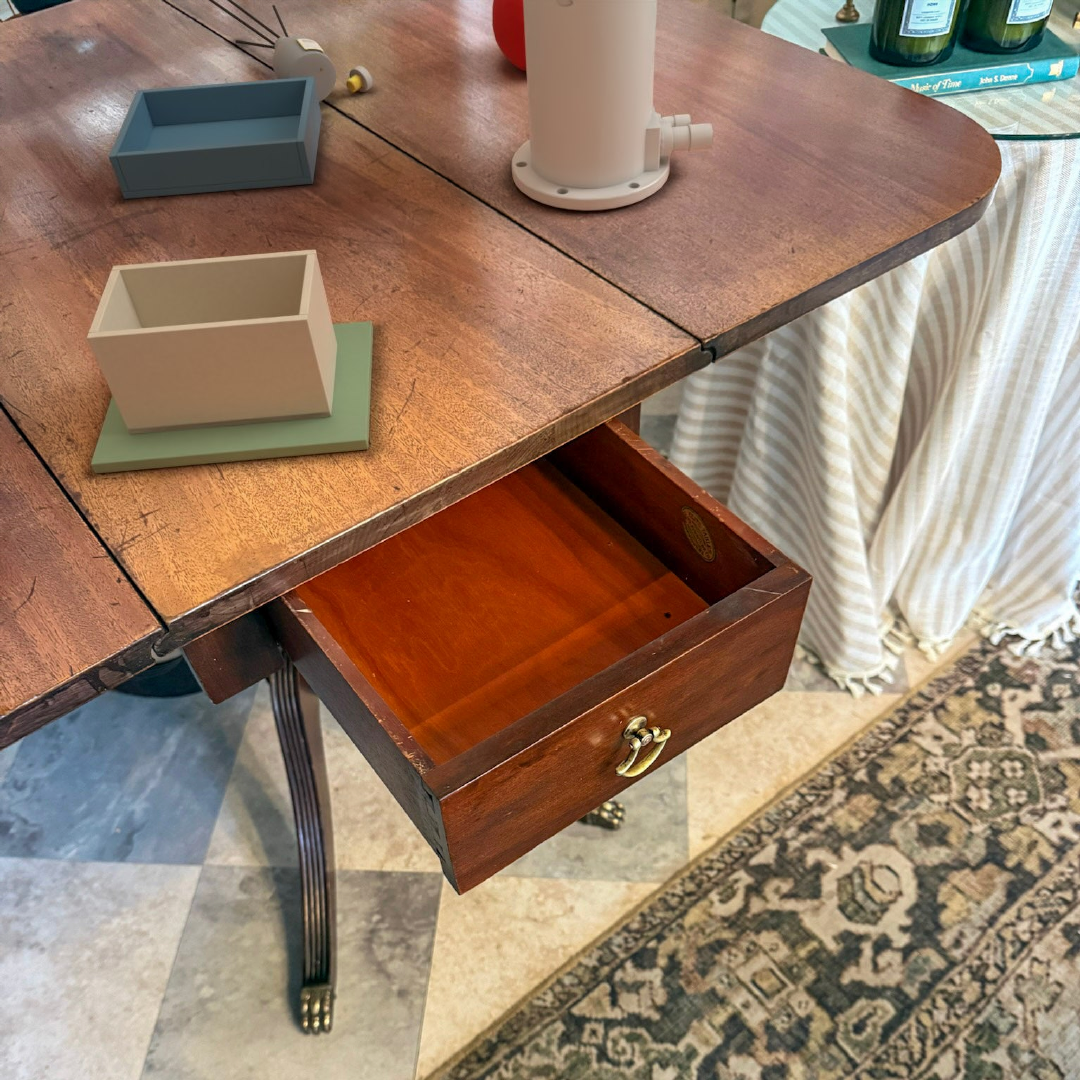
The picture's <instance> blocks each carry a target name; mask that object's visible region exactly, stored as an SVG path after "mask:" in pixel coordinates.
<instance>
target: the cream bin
mask: <svg viewBox="0 0 1080 1080" xmlns="http://www.w3.org/2000/svg"><path fill="white" fill-rule="evenodd" d="M331 315H332V314H331V310H330V307H329V303H328V297H327V293H326V289H325V285H324V281H323V277H322V272H321V267H320V264H319V258H318V254H317V250H316V249H304V250H293V251H292V250H291V251H279V252H269V253H268V252H267V253H255V254H244V255H243V254H242V255H233V256H219V257H207V258H196V259H195V258H194V259H183V260H182V259H181V260H171V261H170V260H169V261H159V262H146V263H145V262H144V263H133V264H122V265H121V264H120V265H112V267H111V271H110V272H109V275H108V279H107V280H106V284H105V287H104V289H103V292H102V295H101V297H100V300H99V303H98V306H97V308H96V311H95V313H94V316H93V319H92V321H91V324H90V327H89V329H88V333H87V335H86V340H87V342H88V344H89V346H90V349H91V351H92V354H93V356H94V359H95V361H96V363H97V364H98V367H99V369H100V371H101V373H102V375H103V377H104V380H105V382H106V385H107V386H108V389H109V392H110V393H111V396H112V395H113V398H114V400H115V402H116V404H117V407H118V409H119V411H120V413H121V415H122V418H123V420H124V422H125V424H126V427H127V429H128V431H129V433H130V434H140V433H152V432H163V431H175V430H186V429H198V428H209V427H221V426H232V425H243V424H255V423H266V422H278V421H289V420H301V419H312V418H324V417H331V416H332V404H333V392H334V380H335V368H336V356H337V341H336V337H335V333H334V328H333V324H334V323H333V320H332V316H331Z"/></svg>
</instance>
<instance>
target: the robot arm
mask: <svg viewBox="0 0 1080 1080" xmlns="http://www.w3.org/2000/svg"><path fill="white" fill-rule="evenodd" d="M523 6H524V27H525V48H526V69H527V71H526V86H527V89H526V90H527V108H528V128H529V139H528V140H526V141H525V142H523V143H522V144H521V145H520V146H519V147H518V148H517V149H516V150H515V153H514V154H513V156H512V159H511V174H512V175H511V176H512V180H513V182H514V183H515V186H516V187H517V188H518V189H519V190H520V191H521V192H522V193H523V194H525V195H526V196H527V197H529V198H531V199H532V200H535V201H537V202H538V203H541V204H543V205H547V206H550V207H553V208H557V209H558V208H559V209H565V210H573V211H585V212H586V211H604V210H611V209H618V208H622V207H626V206H630V205H633V204H635V203H638V202H641V201H643V200H645V199H647V198H649V197H650V196H652V195H654V194H655V193H656V192H657V191H659V190H660V189H661V188H662V187H663V186H664V184H666V182H667V180H668V177H669V175H670V170H671V169H670V166H671V165H670V164H671V158H670V157H671V156H672V155H673V152H676V151H677V152H679V151H688V152H693V151H704V150H705V151H706V150H711V149H712V148H713V142H714V130H713V125H712V123H711V122H705V123H692V121H691V120H692V119H691V118H692V117H691V115H690V113H679V114H673V115H667V116H666V115H665V116H662V115H661V113H660V112H657V111H656V109H655V106H654V87H655V86H654V85H655V64H656V63H655V61H656V40H657V19H658V18H657V17H658V0H523Z"/></svg>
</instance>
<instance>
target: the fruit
mask: <svg viewBox="0 0 1080 1080" xmlns="http://www.w3.org/2000/svg"><path fill="white" fill-rule="evenodd" d="M491 9H492V10H491V11H492V13H491V15H492V16H491V17H492V18H491V23H492V25H491V26H492V31H493V35H494V39H495V42H496V44H497V46H498V48H499V50H500V51H501V53H502V54H503V56H504V57H505V58H506V59H507V60H508V61H509V62H510V63H511V64H513V66H515V67H516V68H518V69H519V70H521V71H524V72H527V69H526V48H525V27H524V6H523V0H492V7H491Z"/></svg>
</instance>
